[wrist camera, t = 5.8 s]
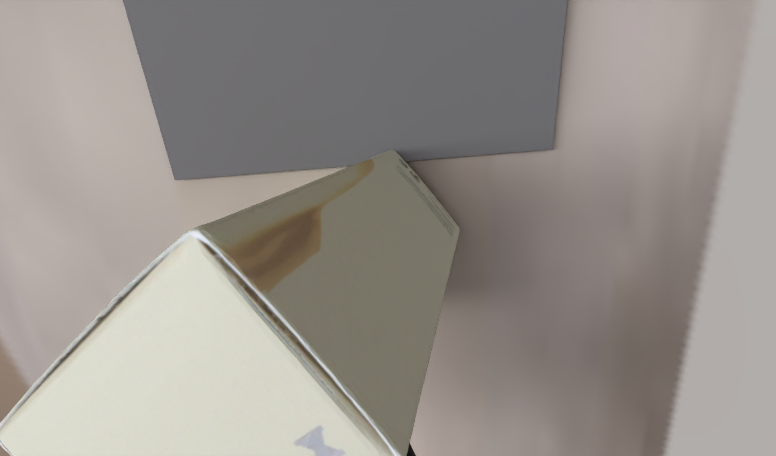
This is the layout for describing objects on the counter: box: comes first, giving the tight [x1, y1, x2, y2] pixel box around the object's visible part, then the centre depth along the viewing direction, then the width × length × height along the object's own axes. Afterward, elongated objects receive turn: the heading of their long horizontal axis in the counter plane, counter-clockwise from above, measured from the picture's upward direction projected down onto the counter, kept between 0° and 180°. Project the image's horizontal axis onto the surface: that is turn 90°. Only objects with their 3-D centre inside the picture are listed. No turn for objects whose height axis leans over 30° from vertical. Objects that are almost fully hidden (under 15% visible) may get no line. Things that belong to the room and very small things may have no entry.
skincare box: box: [0, 150, 460, 456], centre depth 12 cm, size 6×4×12 cm
